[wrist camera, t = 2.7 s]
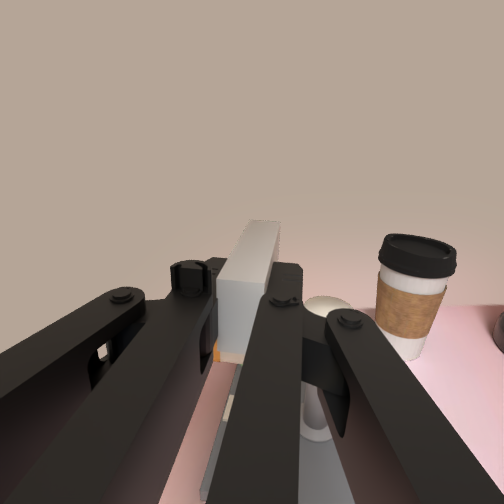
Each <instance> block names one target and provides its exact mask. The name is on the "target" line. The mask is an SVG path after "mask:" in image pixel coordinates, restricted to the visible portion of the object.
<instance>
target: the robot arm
mask: <svg viewBox="0 0 504 504" xmlns="http://www.w3.org/2000/svg"><path fill="white" fill-rule="evenodd" d="M280 223H281V222H276V221H261V220H250V221H249V222H248V224H247V226H246V228H245V229H244V231H243V233H242V235H241V236H240V238H239V240H238V242H237V243H236V245H235V247H234V249H233V251H232V252H231V254H230V256H229V257H228V258H217V257H212V258H210V259H208V260H207V261H205V262H204V261H199V260H186V261H180V262H177V263H175V264H173V265H172V266H170V271H171V286H172V290H171V292H170V293H169V294H168V295H167V297H166V298H165V299H160V300H146V301H145V294H144V292H143V291H142V290H140V289H138V288H133V287H120V288H117V289H113V290H110V291H108V292H106V293H104V294H102V295H101V296H99V297H97V298H95V299H94V300H92V301H90V302H89V303H87V304H85V305H83V306H82V307H80V308H78V309H76V310H75V311H73V312H71V313H70V314H68V315H66V316H64V317H63V318H61V319H59V320H58V321H56V322H54V323H52V324H51V325H49V326H47V327H46V328H44V329H42V330H40V331H39V332H37V333H35V334H33V335H32V336H30V337H28V338H27V339H25V340H23V341H21V342H20V343H18V344H16V345H14V346H13V347H11V348H9V349H8V350H6V351H4V352H2V353H1V354H0V504H158V503H159V501H160V498H161V495H162V493H163V490H164V488H165V485H166V482H167V480H168V477H169V475H170V472H171V469H172V467H173V464H174V462H175V459H176V456H177V454H178V451H179V449H180V446H181V443H182V441H183V438H184V436H185V433H186V430H187V428H188V425H189V423H190V420H191V417H192V415H193V412H194V410H195V407H196V404H197V402H198V399H199V397H200V394H201V391H202V389H203V386H204V384H205V381H206V378H207V376H208V373H209V371H210V368H211V365H212V363H213V357H214V354H213V347H214V345H215V342H216V340H217V351H220V352H228V353H236V354H244V355H245V357H244V361H243V365H242V369H241V372H240V376H239V380H238V384H237V387H236V391H235V395H234V399H233V402H232V406H231V410H230V414H229V417H228V421H227V425H226V429H225V432H224V436H223V440H222V443H221V447H220V451H219V455H218V458H217V462H216V466H215V470H214V473H213V477H212V481H211V485H210V488H209V492H208V496H207V500H206V503H205V504H298V490H299V450H300V411H301V381H303V382H306V383H308V384H311V385H313V386H316V387H317V395H318V398H319V401H320V403H321V406H322V409H323V412H324V415H325V418H326V421H327V424H328V427H329V430H330V432H331V435H332V438H333V441H334V444H335V447H336V450H337V453H338V456H339V459H340V461H341V464H342V467H343V470H344V473H345V476H346V479H347V482H348V485H349V488H350V490H351V493H352V496H353V499H354V502H355V504H504V495H503V493H502V492H501V491H500V489H499V488H498V487H497V485H496V484H495V483H494V481H493V480H492V479H491V477H490V476H489V475H488V473H487V472H486V471H485V469H484V468H483V467H482V465H481V464H480V463H479V461H478V460H477V459H476V457H475V456H474V455H473V453H472V452H471V451H470V449H469V448H468V447H467V445H466V444H465V443H464V441H463V440H462V439H461V437H460V436H459V435H458V433H457V432H456V431H455V429H454V428H453V426H452V425H451V424H450V422H449V421H448V420H447V418H446V417H445V416H444V414H443V413H442V412H441V410H440V409H439V408H438V406H437V405H436V404H435V402H434V401H433V400H432V398H431V397H430V396H429V394H428V393H427V392H426V390H425V389H424V388H423V386H422V385H421V384H420V382H419V381H418V380H417V378H416V377H415V376H414V374H413V373H412V372H411V370H410V369H409V368H408V366H407V365H406V364H405V362H404V361H403V359H402V358H401V357H400V355H399V354H398V353H397V351H396V350H395V349H394V347H393V346H392V345H391V343H390V342H389V341H388V339H387V338H386V337H385V335H384V334H383V333H382V331H381V330H380V329H379V327H378V326H377V325H376V323H375V322H374V321H373V320H372V319H371V318H370V317H369V316H368V315H366V314H364V313H362V312H360V311H358V310H354V309H350V308H348V309H347V308H340V309H334V310H332V311H330V312H329V313H328V314H327V316H326V317H323V316H319V315H317V314H314V313H312V312H310V311H309V310H308V309H306V308H305V306H304V305H303V301H302V287H303V269H302V268H301V267H300V266H299V264H295V263H283V262H278V254H279V239H280ZM493 338H494V340H495V342H496V344H497V345H498V347H499V348H500V349H501V350H502V351H503V352H504V312H503V313H502V314H501V315H500V316H499V317H498V319H497V322H496V325H495V327H494V330H493ZM105 343H106V348H107V355H106V356H105V357H103V358H101V359H99V357H98V351H97V349H98V348H99V347H101V346H102V345H103V344H105Z"/></svg>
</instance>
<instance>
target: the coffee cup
mask: <svg viewBox="0 0 504 504" xmlns="http://www.w3.org/2000/svg"><path fill="white" fill-rule="evenodd" d="M456 254H457V253H456V250H455V248H453V247H452V246H450V245H448V244H446V243H444V242H441V241H438V240H434V239H431V238H426V237H420V236H414V235H406V234H388V235H386V237H385V238H384V241H383V244H382V247H381V249H380V251H379V256H378V259H379V261H380V262H381V268H380V271H379V273H378V283H377V298H376V313H375V323H376V325H377V326H378V327H379V329H380V330H381V331H382V333H383V334H384V335H385V337H386V338H387V339H388V341H389V342H390V343H391V345H392V346H393V347H394V349H395V350H396V351H397V353H398V354H399V355H400V357H401V358H402V359H403V361H411V360H415V359H417V358H418V357H419V356H420V354H421V351H422V349H423V346H424V343H425V340H426V338H427V335H428V333H429V331H430V328H431V326H432V324H433V321H434V319H435V316H436V314H437V311H438V309H439V306H440V304H441V301H442V299H443V296H444V294H445V291H446V289H447V285H446V283H447V281H448V278H449V276H451V275H453V274H454V273H455V268H456V266H457V263H456Z"/></svg>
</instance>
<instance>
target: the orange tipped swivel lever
mask: <svg viewBox="0 0 504 504" xmlns="http://www.w3.org/2000/svg"><path fill="white" fill-rule="evenodd" d="M304 306H305V308H306V309H308V310H309V311H310V312H312V313H314V314H317V315H319V316H323V317H326V316H327V314H328V313H329V312H330V311H332V310H334V309H340V308H347V309H348V308H350V309H353V308H352V307H351V306H350V305H349V304H348V303H347V302H345V301H343V300H341V299H338V298H335V297H330V296H317V297H313V298H310V299H308V300H307V301H306V302H305V304H304ZM213 354H214V357H213V361H215V362H220V361H222V362H229V363H237V364H243V361H244V357H245V355H244V354H236V353H228V352H220V351H217V340H216V342H215V345H214V347H213ZM303 421H304V423H305V424H306V425H307V426H308V427H310V428H312V429H315V430H320V429H323V428H325V427H326V426H327V421H326V418H325V415H324V412H323V409H322V406H321V403H320V401H319V398H318V395H317V387H316V386H313V385H311V384H308V383H306V390H305V400H304V410H303Z"/></svg>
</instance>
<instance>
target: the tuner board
mask: <svg viewBox="0 0 504 504" xmlns="http://www.w3.org/2000/svg"><path fill="white" fill-rule="evenodd" d="M242 365H243V364H238V365H237V368H236V371H235V375H234V378H233V381H232V385H231V388H230V391H229V395H228V398H227V401H226V405H225V408H224V411H223V415H222V418H221V421H220V425H219V428H218V431H217V435H216V438H215V441H214V445H213V448H212V451H211V455H210V458H209V461H208V465H207V468H206V471H205V475H204V478H203V481H202V485H201V488H200V500H203V501H206V500H207V496H208V492H209V488H210V485H211V481H212V477H213V473H214V470H215V466H216V462H217V458H218V455H219V451H220V447H221V443H222V440H223V436H224V432H225V429H226V425H227V421H228V417H229V414H230V410H231V406H232V402H233V399H234V395H235V391H236V387H237V384H238V380H239V376H240V372H241V369H242ZM305 390H306V382H303V381H301V411H300V450H299V490H298V504H355V502H354V499H353V496H352V493H351V490H350V488H349V485H348V482H347V479H346V476H345V473H344V470H343V467H342V464H341V461H340V459H339V456H338V453H337V450H336V447H335V444H334V441H333V438H332V435H331V432H330V430H329V427H328V424H327V426H326V427H325V428H323V429H320V430H315V429H312V428H310V427H308V426H307V425H306V424H305V423H304V421H303V410H304V400H305Z"/></svg>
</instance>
